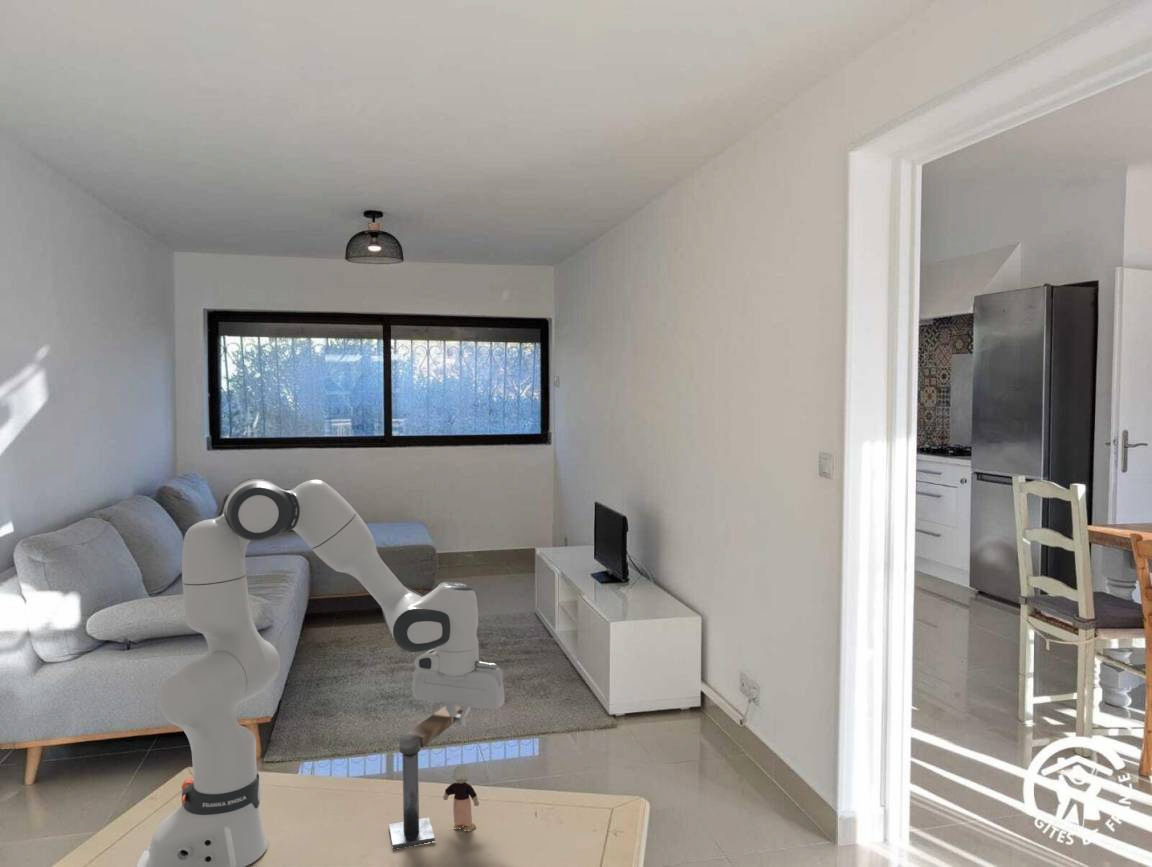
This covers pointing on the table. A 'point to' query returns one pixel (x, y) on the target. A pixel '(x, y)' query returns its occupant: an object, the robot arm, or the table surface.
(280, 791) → the table surface
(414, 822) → the arm post
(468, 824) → the grandmother figurine
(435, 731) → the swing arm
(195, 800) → the robot arm
